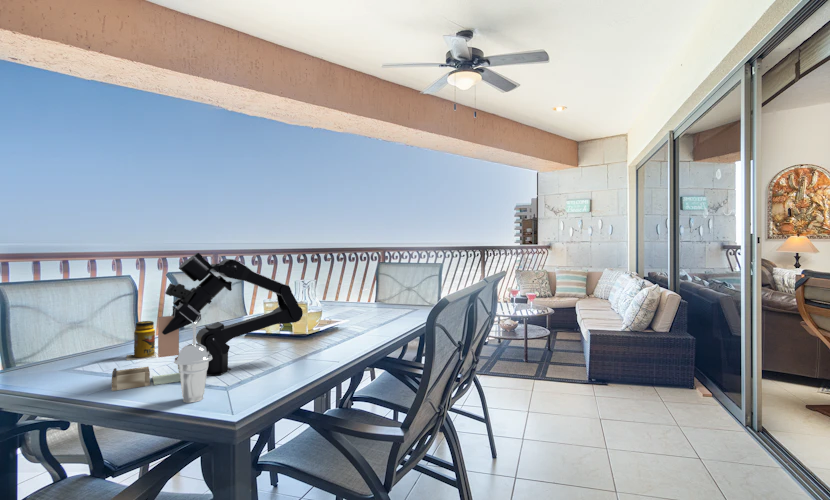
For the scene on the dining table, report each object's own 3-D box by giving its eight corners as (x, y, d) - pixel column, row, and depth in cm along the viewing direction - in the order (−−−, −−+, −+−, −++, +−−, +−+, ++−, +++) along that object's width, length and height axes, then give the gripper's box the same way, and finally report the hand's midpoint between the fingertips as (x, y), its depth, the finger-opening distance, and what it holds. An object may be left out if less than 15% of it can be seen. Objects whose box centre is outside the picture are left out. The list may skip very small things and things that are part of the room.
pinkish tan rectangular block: (178, 352, 123) (178, 315, 123) (178, 355, 121) (178, 316, 121) (158, 355, 120) (158, 316, 120) (158, 357, 118) (158, 318, 118)
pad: (182, 373, 126) (182, 372, 126) (185, 380, 119) (185, 379, 119) (152, 377, 122) (152, 376, 122) (154, 385, 115) (154, 383, 115)
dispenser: (148, 378, 121) (148, 364, 121) (149, 385, 115) (149, 370, 115) (112, 383, 116) (112, 368, 116) (111, 391, 110) (111, 375, 110)
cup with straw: (165, 404, 101) (166, 321, 101) (191, 391, 110) (192, 315, 110) (196, 407, 99) (197, 322, 99) (220, 394, 108) (221, 316, 108)
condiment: (156, 357, 145) (156, 322, 145) (126, 360, 140) (126, 324, 140) (155, 353, 151) (155, 319, 151) (126, 356, 146) (127, 321, 146)
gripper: (181, 271, 130) (138, 310, 124) (187, 275, 115) (139, 319, 109) (209, 295, 135) (169, 333, 129) (219, 301, 119) (174, 345, 113)
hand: (162, 332), depth 120 cm, fingers closed on pinkish tan rectangular block, 3 cm apart
